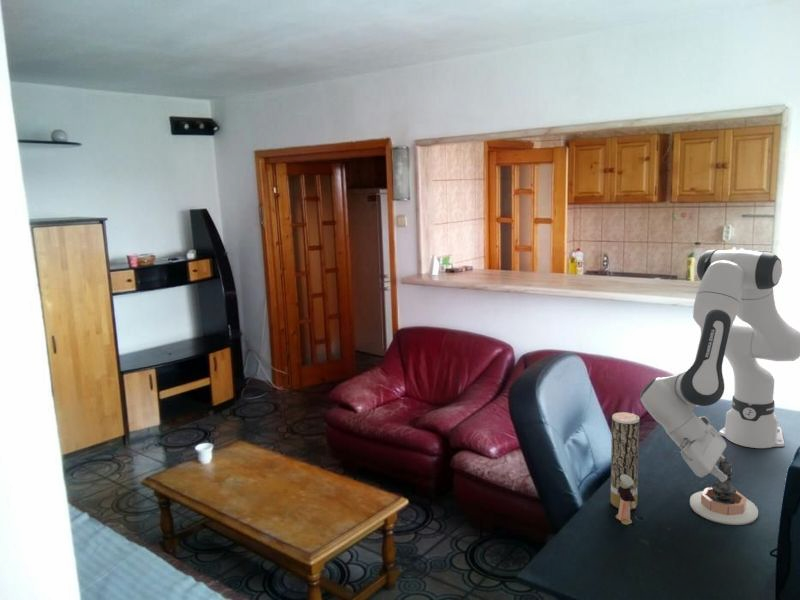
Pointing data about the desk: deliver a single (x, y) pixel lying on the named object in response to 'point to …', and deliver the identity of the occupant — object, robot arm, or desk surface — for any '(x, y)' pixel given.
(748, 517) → the saucer
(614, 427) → the wooden cylinder
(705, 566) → the desk surface
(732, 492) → the grey chess piece
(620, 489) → the grandmother figurine
